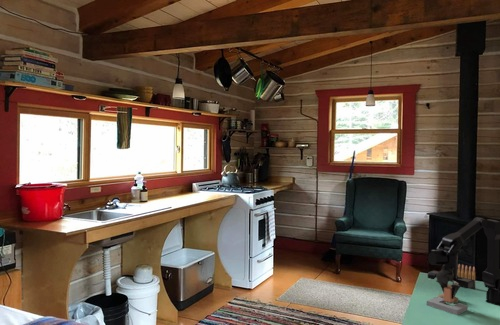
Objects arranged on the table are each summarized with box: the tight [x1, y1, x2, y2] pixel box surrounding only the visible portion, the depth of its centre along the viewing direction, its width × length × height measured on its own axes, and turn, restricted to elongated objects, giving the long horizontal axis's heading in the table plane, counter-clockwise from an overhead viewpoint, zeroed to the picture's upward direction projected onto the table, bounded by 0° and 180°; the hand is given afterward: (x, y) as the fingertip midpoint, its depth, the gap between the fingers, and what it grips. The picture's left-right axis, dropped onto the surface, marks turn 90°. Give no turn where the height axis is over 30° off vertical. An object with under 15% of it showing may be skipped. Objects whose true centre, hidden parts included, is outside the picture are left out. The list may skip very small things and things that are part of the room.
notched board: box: [426, 296, 469, 316], centre depth 189 cm, size 14×10×2 cm
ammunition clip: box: [452, 263, 476, 290], centre depth 220 cm, size 11×2×12 cm, turn 52°
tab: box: [443, 286, 454, 303], centre depth 189 cm, size 3×4×6 cm
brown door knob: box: [437, 283, 459, 304], centre depth 199 cm, size 9×9×6 cm
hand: (448, 297), depth 190 cm, fingers closed on tab, 3 cm apart
